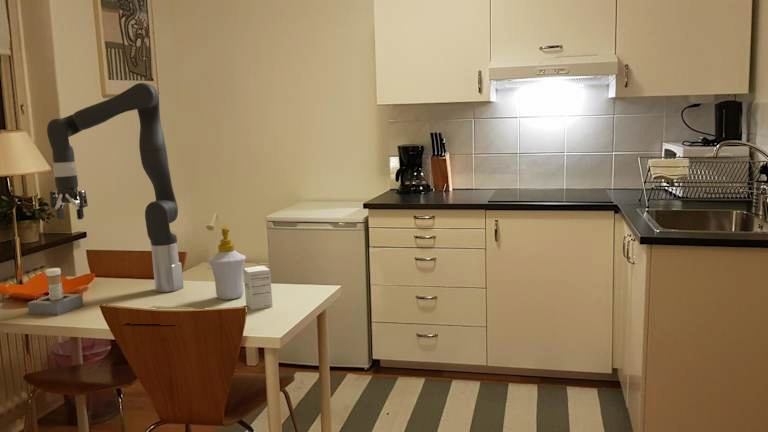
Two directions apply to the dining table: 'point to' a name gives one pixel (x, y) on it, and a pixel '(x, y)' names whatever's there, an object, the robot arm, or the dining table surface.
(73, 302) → the shallow gray tray
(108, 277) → the dining table surface
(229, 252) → the soap bottle
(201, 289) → the dining table surface
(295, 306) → the dining table surface
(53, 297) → the sprinkles bottle
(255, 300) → the supplement box
